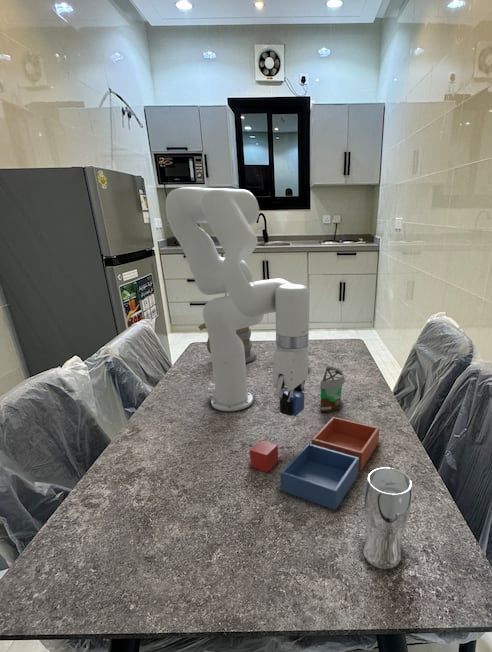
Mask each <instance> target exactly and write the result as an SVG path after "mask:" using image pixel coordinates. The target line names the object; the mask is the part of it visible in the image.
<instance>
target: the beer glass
mask: <svg viewBox="0 0 492 652" xmlns="http://www.w3.org/2000/svg"><path fill="white" fill-rule="evenodd" d="M412 498H413V481H412V479H411V477H410V476H409V475H408V473H406V472H404V471H402V470H400V469H397V468H395V467H394V468H393V467H379V468H375V469H373V470H372V471H370V473H368V475H367V482H366V487H365V492H364V505H363V506H364V507H363V508H364V518H365V525H366V533H367V534H366V540H365V543H364V545H363V556H364V558H365V560H366V561H367V562H368V563H369V564H370V565H371V566H373V567H375V568H377V569H381V570H389V569H393V568H395V567H396V566H398V565H400V564H399V563H401V560H402V549H401V542H402V537H403V535H404V532H405V530H406V527H407V524H408V521H409V518H410V515H411V509H412V500H413V499H412Z"/></svg>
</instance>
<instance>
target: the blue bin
mask: <svg viewBox="0 0 492 652" xmlns="http://www.w3.org/2000/svg"><path fill="white" fill-rule="evenodd" d="M358 468H359V458H358V457H355V456H351V455H348V454H344V453H341V452H337V451H334V450H330V449H327V448H323V447H319V446H316V445H312V443H306V445H304V447H303V448H302V449H301V450H300V451H299V452H298V453H297V454H296V455H295V457H293V458H292V460H291V461H290V462H288V464H287V465H286V466H285V467H284V468H283V469H282V470H281V471H280V472H279V474H280V475H279V476H280V477H279V479H280V491H281V492H283V493H286V494H290V495H292V496H295V497H297V498H300V499H303V500H306V501H308V502H311V503H315V504H317V505H320V506H323V507H326V508H329V509H331V510H334V511H336V510H337V509H338V507H339V505H340V504H341V503H342V501H343V499H344V498H345V496H346V495H347V493H348V492H349V490H350V488H351V487H352V485H353V484H354V482H355V481H356V479H357V478H358V476H359V470H358Z"/></svg>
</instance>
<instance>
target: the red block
mask: <svg viewBox="0 0 492 652" xmlns="http://www.w3.org/2000/svg"><path fill="white" fill-rule="evenodd" d="M278 448H279V447H278V444H276V443H272V442H268V441H265V440H260V441H258V442H257V443H256V444H254V446H253V447H251V448H250V449H249V458H250V467H251V468H254V469H257V470H260V471H263V472H265V473H269V472H270V471H271V470H272V469H273V467H275V466H276V465H277V464H278V463H279V449H278Z"/></svg>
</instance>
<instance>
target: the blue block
mask: <svg viewBox="0 0 492 652" xmlns="http://www.w3.org/2000/svg"><path fill="white" fill-rule="evenodd" d="M284 393H285V394H286V395H287V396H288V391H284ZM291 400H292V401H293V415H292V417H297V416H298V415H299V414H300V413H301V412H302V411H303V410H304V409H305V392H304V391H303V392H299V391H295V390H294V389H293V390H292V398H291Z"/></svg>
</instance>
